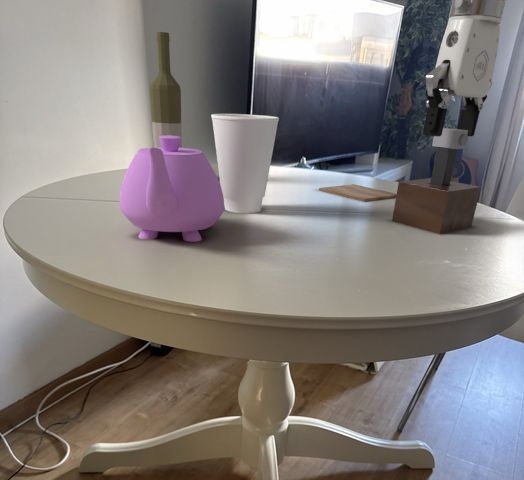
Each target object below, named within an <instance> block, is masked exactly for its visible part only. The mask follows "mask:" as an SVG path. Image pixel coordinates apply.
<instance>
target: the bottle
mask: <svg viewBox="0 0 524 480" xmlns="http://www.w3.org/2000/svg"><path fill="white" fill-rule="evenodd" d="M170 41H171V40H170V33H169V32H167V31H156V43H157V45H156V46H157V60H158V61H157V65H158V66H157V67H158V71H157V74H156V76H155V77H154V78H153V80H152V81H151V83H150V84H149V100H150V113H151V114H150V115H151V126H152V128H151V129H152V141H153V147H162V145H161V143H160V140H159V137H160V136H166V135H170V136H179V137H181V142H180V146H179V148H183V144H182V143H183V139H182V135H183V134H182V89H181V86H180V84H179V83H178V81H177V80H176V79H175V77H174V76H173V75H172V72H171V54H170V53H171V52H170V50H171V49H170Z"/></svg>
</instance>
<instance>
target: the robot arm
mask: <svg viewBox="0 0 524 480" xmlns="http://www.w3.org/2000/svg"><path fill="white" fill-rule="evenodd" d="M506 2H507V0H451V6H450V10H449V16H448V20H447V25H446V28H445V31H444V34H443V37H442V41H441V43H440V46H439V47H440V48H439V50H438V51H439V52H438V55H437V59H436V63H435V68H434V69H432V70H431V71H429V72H428V73H427V74H426V76H425V86H426V87H425V88H426V89H425V97H426V102H425V103H426V104H425V105H426V108H427V110H426V115H425V120H424V125H423V130H422V134H423V136H429V137H434V136H437V137H439V136H441V135H442V131H443V128H444V126H445V122H446V116H447V111H448V108H445V107H446V106H447V105H448V103H449V101H450V99H451V98H452V97H461V98H462V103H463V108H464V109H460V112H459V113H460V114H459V118H458V122H457V127H456V129H459V130H468V133H467V135H468V137H474V135H475V134H476V129H477V124H478V122H479V117H480V112H481V111H482V110H483V107H484V103H485V101H486V100H487V98H488V95H489V92H490V90H491V88H492V85H493V81H492V80H493V76H494V71H495V67H496V61H497V55H498V51H499V44H500V33H501V22H502V18H503V14H504V10H505V7H506Z"/></svg>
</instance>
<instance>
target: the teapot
mask: <svg viewBox="0 0 524 480" xmlns="http://www.w3.org/2000/svg"><path fill="white" fill-rule="evenodd" d="M159 140H160V143H161V145H162V147H154V146H153V147H143V148H139V149H138V150H137V151H136V153H135V154H134V156H133V157H132V160H131V162H130V163H129V166H128V167H127V170H126V172H125V174H124V177H123V180H122V183H121V186H120V192H119V209H120V211H121V213H122V214H123V215H124V217H125V218H126V219H127V220H128V221H129V222H130V223H131V224H132V225H133V226H134V227H136V228H140V229H141V231H140V232H139V234H138V238H139V239H141V240H154V239H157V238H158V235H159V232H164V233H165V232H166V233H181V235H182V240H184V241H186V242H200V241H202V240H203V239H202V236H201V234H200V232H199V231H203V230H206V229H208V228H210V227H212V226H214V225H215V223H216V222H218V220H219V219H220V217H221V216H222V214H223V213H224V210H225V205H224V196H223V193H222V189H221V185H220V179H219V177H218V176H217V174H216V172H215V170H214V168H213V167H212V165H211V163H210V161H209V159H208V158H207V156H206V155H205V153H204V152H202V150H199V149H195V148H194V149H193V148H186V147H182V148H179V146H180V142H181V137H179V136H170V135H166V136H160V137H159Z"/></svg>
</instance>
